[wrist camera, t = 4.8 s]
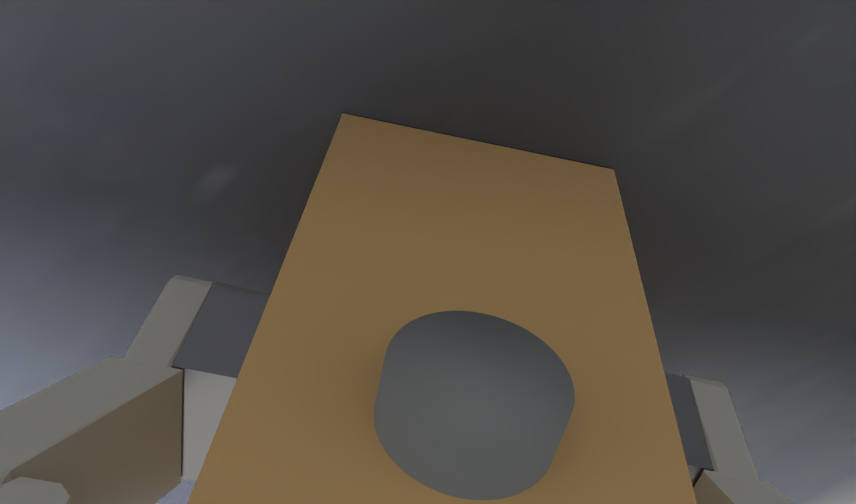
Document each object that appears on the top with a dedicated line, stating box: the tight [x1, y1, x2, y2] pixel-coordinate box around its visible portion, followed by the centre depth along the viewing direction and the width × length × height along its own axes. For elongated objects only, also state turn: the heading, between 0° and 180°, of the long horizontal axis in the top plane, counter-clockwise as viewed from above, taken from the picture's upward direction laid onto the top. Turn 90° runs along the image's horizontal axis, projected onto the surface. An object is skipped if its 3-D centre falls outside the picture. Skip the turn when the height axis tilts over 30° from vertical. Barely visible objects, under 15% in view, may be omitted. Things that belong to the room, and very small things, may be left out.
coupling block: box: [187, 113, 697, 504], centre depth 10 cm, size 4×5×7 cm
